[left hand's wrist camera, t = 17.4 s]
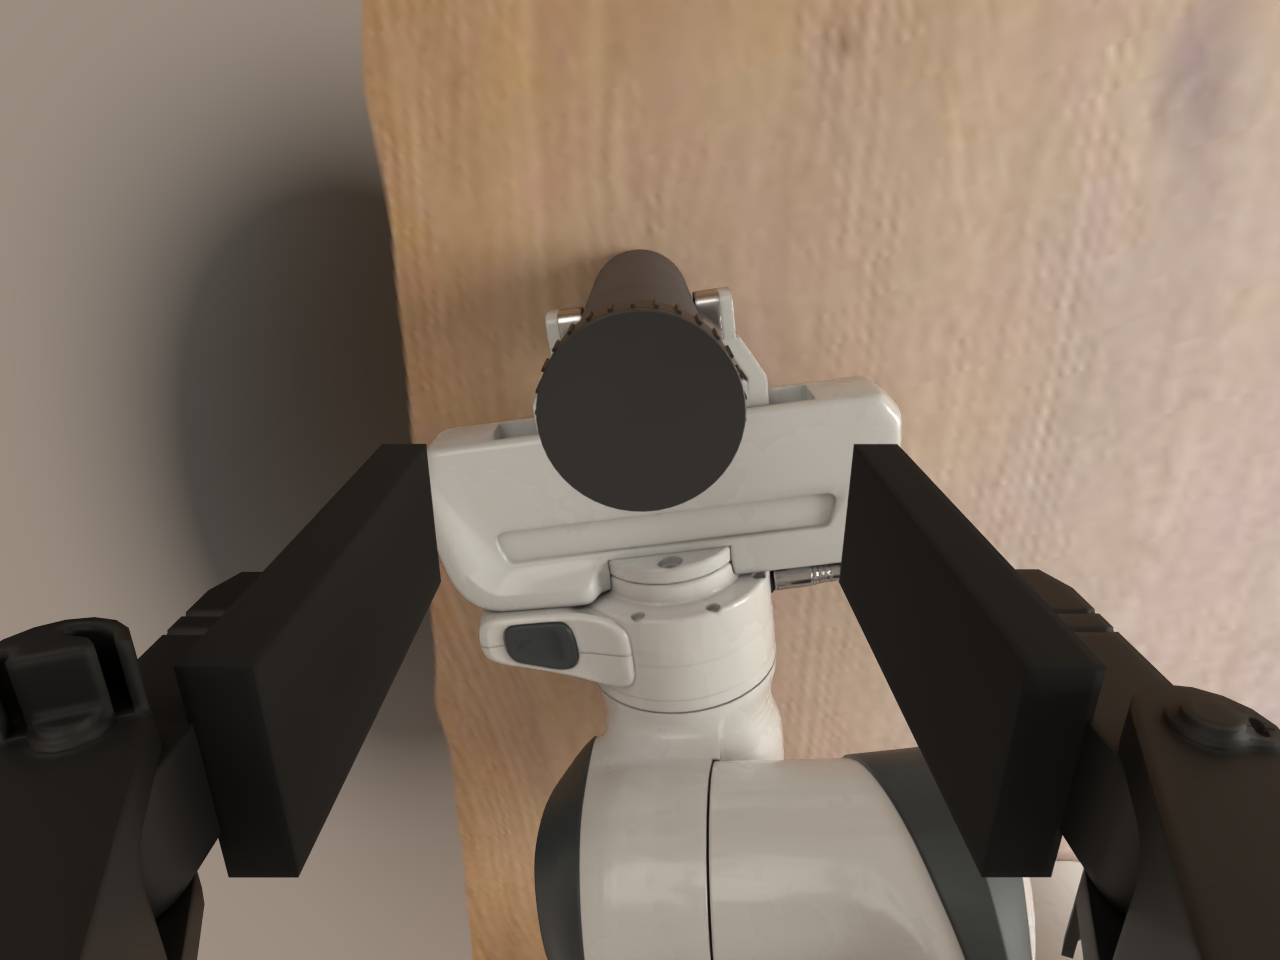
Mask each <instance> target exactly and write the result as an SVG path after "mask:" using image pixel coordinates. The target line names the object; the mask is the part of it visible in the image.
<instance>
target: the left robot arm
mask: <svg viewBox="0 0 1280 960" xmlns="http://www.w3.org/2000/svg"><path fill="white" fill-rule="evenodd" d="M440 583H441V578H440V568H439V559H438V550H437V540H436V531H435V522H434V512H433V503H432V494H431V484H430V475H429V466H428V456H427V447H426V444H382V445H381V446H380V447H379V449H378V450H377V451H376V452H375V453H374V454H373V455H372V456H371V457H370V458H369V459H368V460H367V461H366V462H365V463H364V465H363V466H362V467H361V468H360V469H359V470H358V471H357V472H356V473H355V474H354V475H353V476H352V477H351V478H350V479H349V481H348V482H347V483H346V484H345V485H344V486H343V487H342V488H341V489H340V490H339V491H338V492H337V493H336V494H335V495H334V497H333V498H332V499H331V500H330V501H329V502H328V503H327V504H326V505H325V506H324V507H323V508H322V509H321V511H319V513H318V514H317V515H316V516H315V517H314V518H313V519H312V520H311V521H310V522H309V523H308V524H307V525H306V526H305V527H304V529H303V530H302V531H301V532H300V533H299V534H298V535H297V536H296V537H295V538H294V539H293V540H292V541H291V542H290V543H289V545H288V546H287V547H286V548H285V549H284V550H283V551H282V552H281V553H280V554H279V555H278V556H277V557H276V558H275V559H274V561H273V562H272V563H271V564H270V565H269V566H268V567H267V568H266V569H265V570H264V571H263V572H241V573H239V574H238V575H236V576H234V577H232V578H230V579H228V580H227V581H225V582H223V583H221V584H219V585H217V586H216V587H214V588H212V589H210V590H208V591H207V592H206V593H205V594H204V595H203V596H202V597H201V598H200V599H199V600H198V601H197V602H196V603H195V604H194V605H193V606H192V607H191V608H190V609H189V610H188V611H187V612H186V617H181V618H180V619H179V620H178V621H176V622H175V623H174V624H173V625H172V626H171V627H170V628H169V629H168V633H167V635H162V636H161V637H160V638H159V639H158V640H157V641H156V642H155V643H154V644H153V645H152V646H151V647H150V648H149V649H148V650H147V651H146V652H145V653H144V654H143V655H142V656H141V657H140V658H139V659H137V656H136V652H135V649H134V645H133V641H132V638H131V635H130V631H129V628H128V627H126V626H125V625H123V624H122V623H120V622H118V621H117V620H112V619H104V618H97V617H92V618H80V619H69V620H63V621H59V622H55V623H51V624H47V625H42V626H38V627H34V628H32V629H29V630H27V631H24V632H21V633H19V634H16V635H14V636H11V637H9V638H6V639H3V640H2V641H0V960H197V955H198V948H199V940H200V933H201V925H202V918H203V911H204V899H203V892H202V886H201V883H200V879H199V876H198V872H197V870H198V869H199V867H200V866H201V864H202V863H203V861H204V859H205V858H206V856H207V855H208V853H209V851H210V850H211V848H212V847H213V845H214V844H215V842H216V840H217V839H218V838H219V842H220V846H221V850H222V853H223V857H224V861H225V865H226V869H227V872H228V876H229V877H299V875H300V873H301V871H302V869H303V866H304V864H305V862H306V860H307V858H308V856H309V854H310V852H311V850H312V848H313V846H314V844H315V842H316V839H317V838H318V835H319V833H320V831H321V829H322V827H323V825H324V823H325V821H326V819H327V817H328V815H329V813H330V811H331V809H332V806H333V804H334V802H335V800H336V798H337V796H338V794H339V792H340V790H341V788H342V786H343V784H344V782H345V779H346V777H347V775H348V773H349V771H350V769H351V767H352V765H353V763H354V761H355V759H356V757H357V755H358V753H359V751H360V748H361V746H362V744H363V742H364V740H365V738H366V736H367V734H368V732H369V730H370V728H371V726H372V724H373V722H374V719H375V717H376V715H377V713H378V711H379V709H380V707H381V705H382V703H383V701H384V699H385V697H386V695H387V693H388V690H389V688H390V686H391V684H392V682H393V680H394V678H395V676H396V674H397V672H398V670H399V668H400V666H401V664H402V661H403V659H404V657H405V655H406V653H407V651H408V649H409V647H410V645H411V643H412V641H413V639H414V637H415V634H416V632H417V630H418V628H419V626H420V624H421V622H422V620H423V618H424V616H425V614H426V612H427V610H428V608H429V606H430V603H431V601H432V599H433V597H434V595H435V593H436V591H437V589H438V587H439V585H440ZM839 583H840V585H841V587H842V589H843V591H844V593H845V595H846V597H847V599H848V601H849V603H850V606H851V608H852V610H853V612H854V614H855V616H856V618H857V620H858V622H859V624H860V626H861V628H862V630H863V632H864V635H865V637H866V639H867V641H868V643H869V645H870V647H871V649H872V651H873V653H874V655H875V657H876V659H877V661H878V664H879V666H880V668H881V670H882V672H883V674H884V676H885V678H886V680H887V682H888V684H889V686H890V688H891V690H892V693H893V695H894V697H895V699H896V701H897V703H898V705H899V707H900V709H901V711H902V713H903V715H904V717H905V719H906V722H907V724H908V726H909V728H910V730H911V732H912V734H913V736H914V738H915V740H916V742H917V744H918V746H919V748H920V751H921V753H922V755H923V757H924V759H925V761H926V763H927V765H928V767H929V769H930V771H931V773H932V775H933V777H934V780H935V782H936V784H937V786H938V788H939V790H940V792H941V794H942V796H943V798H944V800H945V802H946V804H947V806H948V809H949V811H950V813H951V815H952V817H953V819H954V821H955V823H956V825H957V827H958V829H959V831H960V833H961V835H962V838H963V840H964V842H965V844H966V846H967V848H968V850H969V852H970V854H971V856H972V858H973V860H974V862H975V864H976V867H977V869H978V871H979V873H980V875H981V877H1051V876H1052V872H1053V869H1054V865H1055V861H1056V857H1057V853H1058V850H1059V846H1060V842H1061V838H1062V835H1063V836H1064V838H1065V839H1066V841H1067V842H1068V844H1069V846H1070V847H1071V849H1072V850H1073V852H1074V854H1075V855H1076V857H1077V858H1078V860H1079V861H1080V863H1081V865H1082V866H1083V868H1084V869H1083V872H1082V876H1081V879H1080V883H1079V886H1078V890H1077V894H1076V897H1075V901H1074V904H1073V908H1072V911H1071V915H1070V918H1069V922H1068V925H1067V929H1066V933H1065V936H1064V941H1063V947H1062V953H1061V955H1062V956H1065V957H1068V958H1072V959H1073V957H1074V953H1075V950H1076V946H1077V943H1078V941H1079V940H1081V946H1082V953H1083V960H1280V729H1279V728H1278V727H1277V726H1276V725H1274V724H1273V723H1272V722H1270V721H1269V720H1267V719H1266V718H1264V717H1263V716H1261V715H1260V714H1258V713H1257V712H1255V711H1254V710H1253V709H1251V708H1248V707H1246V706H1244V705H1242V704H1240V703H1237V702H1235V701H1233V700H1231V699H1229V698H1226V697H1224V696H1221V695H1218V694H1214V693H1211V692H1207V691H1204V690H1200V689H1197V688H1193V687H1184V686H1174V685H1172V684H1171V683H1170V682H1169V681H1168V680H1167V679H1166V678H1165V677H1164V676H1163V675H1162V674H1161V673H1160V672H1159V671H1158V670H1157V669H1156V668H1155V667H1154V666H1153V665H1152V664H1151V663H1150V662H1149V661H1148V660H1146V659H1145V658H1144V657H1143V656H1142V655H1141V654H1140V653H1139V652H1138V651H1137V650H1136V649H1135V648H1134V647H1133V646H1132V645H1131V644H1130V643H1129V642H1128V641H1127V640H1126V639H1125V638H1124V637H1123V636H1122V635H1121V634H1120V633H1119V632H1114V631H1113V627H1112V626H1111V625H1110V624H1109V623H1108V622H1107V621H1106V620H1105V619H1104V618H1103V617H1102V616H1101V615H1100V614H1095V609H1094V608H1093V607H1092V606H1091V605H1090V604H1089V603H1088V602H1087V601H1085V600H1084V599H1083V598H1082V597H1081V596H1080V595H1079V594H1078V593H1077V592H1076V591H1075V590H1074V589H1073V588H1072V587H1070V586H1068V585H1066V584H1064V583H1063V582H1061V581H1059V580H1057V579H1055V578H1053V577H1052V576H1050V575H1048V574H1046V573H1044V572H1042V571H1041V570H1039V569H1014V568H1013V567H1012V566H1011V565H1010V564H1009V563H1008V562H1007V561H1006V559H1005V558H1004V557H1003V556H1002V555H1001V554H1000V553H999V552H998V551H997V550H996V549H995V548H994V547H993V546H992V545H991V543H990V542H989V541H988V540H987V539H986V538H985V537H984V536H983V535H982V534H981V533H980V532H979V531H978V530H977V529H976V527H975V526H974V525H973V524H972V523H971V522H970V521H969V520H968V519H967V518H966V517H965V516H964V515H963V514H962V513H961V511H960V510H959V509H958V508H957V507H956V506H955V505H954V504H953V503H952V502H951V501H950V500H949V499H948V498H947V497H946V495H945V494H944V493H943V492H942V491H941V490H940V489H939V488H938V487H937V486H936V485H935V484H934V483H933V482H932V481H931V479H930V478H929V477H928V476H927V475H926V474H925V473H924V472H923V471H922V470H921V469H920V468H919V467H918V466H917V465H916V463H915V462H914V461H913V460H912V459H911V458H910V457H909V456H908V455H907V454H906V453H905V452H904V451H903V450H902V449H901V447H900V446H899V445H898V444H854V447H853V456H852V466H851V475H850V484H849V494H848V503H847V512H846V522H845V531H844V540H843V550H842V559H841V568H840V578H839Z"/></svg>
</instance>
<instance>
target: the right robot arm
mask: <svg viewBox="0 0 1280 960" xmlns="http://www.w3.org/2000/svg"><path fill="white" fill-rule="evenodd" d="M693 302H694V304H695V307H696V309H697V312H698V314H699V315H700V317H701V319H702V321H703V322H704V323H705V324H706V325H708V326H709V327H710V328H711V329H713V328H715V329H716V330H717V331H718V334H719V336H720V338H721V341H722V342H723V344H724V345H725V346H727V345H728V346H729V347H730V349H731V351H732V353H733V355H734V357H733V359H734V361H735V362H736V363H737V365H738V366H739V369H740V371H741V373H742V375H743V378H741V381H742V384H743V388H744V391H745V393H746V395H747V400H746V418H747V419H746V422H745V428H744V433H743V437H742V440H741V443H740V446H739V449H738V451H737V453H736V455H735V457H734V459H733V461H732V462H731V464H730V465H729V467H728V468H727V469H726V471H725V472H724V473H723V474H722V476H721V477H720V478H719V479H718V480H717V481H716V482H715V483H714V484H713V485H711V486H710V487H709V488H708V489H707V490H706V491H704V492H703V493H701V494H700V495H698V496H696V497H695V498H693V499H691V500H689V501H687V502H685V503H683V504H680V505H677V506H674V507H671V508H667V509H663V510H658V511H648V512H634V511H625V510H619V509H615V508H611V507H608V506H605V505H602V504H600V503H597V502H595V501H593V500H591V499H589V498H587V497H586V496H584V495H582V494H581V493H579V492H578V491H577V490H575V489H574V488H573V487H571V486H570V485H569V484H568V483H567V482H566V481H565V480H564V479H563V478H562V477H561V476H560V474H559V473H558V472H557V471H556V469H555V468H554V467H553V465H552V463H551V462H550V460H549V459H548V457H547V455H546V453H545V450H544V448H543V446H542V443H541V440H540V437H539V433H538V427H537V421H536V415H535V410H536V401H537V395H536V398H535V400H534V403H533V406H532V407H533V413H534V417H533V418H526V419H518V420H510V421H502V422H494V423H487V424H479V425H471V426H463V427H455V428H448V429H445V430H443V431H441V432H440V433H439V434H438V435H437V436H436V437H435V439H434V440H433V441H432V442H431V443H430V445H429V446H428V447H427V456H428V466H429V475H430V484H431V494H432V503H433V512H434V522H435V531H436V540H437V550H438V554H439V556H440V559H441V561H442V563H443V566H444V568H445V570H446V573H447V575H448V577H449V579H450V580H451V582H452V584H453V585H454V587H455V588H456V589H457V591H458V592H459V593H460V594H461V595H462V596H463V597H464V598H465V599H466V600H468V601H469V602H470V603H472V604H474V605H475V606H478V607H480V608H482V613H481V618H480V626H479V640H480V645H481V649H482V651H483V653H484V655H485V656H486V657H487V658H488V659H489V660H491V661H493V662H496V663H499V664H503V665H509V666H516V667H523V668H529V669H536V670H542V671H548V672H553V673H558V674H563V675H568V676H573V677H577V678H581V679H586V680H589V681H593V682H596V684H597V686H598V688H599V690H600V692H601V694H602V697H603V699H604V702H605V705H606V712H607V723H606V730H605V732H604V734H603V735H601V736H600V737H597V736H595V737H593V738H592V739H591V740H590V741H589V742H588V743H587V744H586V745H585V747H584V748H583V749H582V750H581V751H580V753H579V754H578V755H577V757H576V758H575V760H574V761H573V763H572V764H571V765H570V767H569V768H568V769H567V771H566V772H565V774H564V775H563V777H562V778H561V779H560V781H559V782H558V784H557V785H556V787H555V788H554V790H553V792H552V794H551V795H550V797H549V800H548V802H547V804H546V807H545V810H544V812H543V816H542V819H541V823H540V827H539V832H538V837H537V843H536V850H535V867H534V871H535V893H536V903H537V911H538V919H539V925H540V931H541V936H542V941H543V945H544V949H545V953H546V956H547V959H548V960H1083V953H1082V946H1081V940H1079V941H1078V943H1077V946H1076V950H1075V953H1074V957H1073V959H1072V958H1068V957H1065V956H1062V955H1061V953H1062V947H1063V941H1064V936H1065V933H1066V929H1067V925H1068V922H1069V918H1070V915H1071V911H1072V908H1073V904H1074V901H1075V897H1076V894H1077V890H1078V886H1079V883H1080V879H1081V876H1082V872H1083V869H1084V868H1083V866H1082V865H1081V863H1080V862H1079V861H1055V865H1054V869H1053V872H1052V876H1051V877H981V875H980V873H979V871H978V869H977V867H976V864H975V862H974V860H973V858H972V856H971V854H970V852H969V850H968V848H967V846H966V844H965V842H964V840H963V838H962V835H961V833H960V831H959V829H958V827H957V825H956V823H955V821H954V819H953V817H952V815H951V813H950V811H949V809H948V806H947V804H946V802H945V800H944V798H943V796H942V794H941V792H940V790H939V788H938V786H937V784H936V782H935V780H934V777H933V775H932V773H931V771H930V769H929V767H928V765H927V763H926V761H925V759H924V757H923V755H922V753H921V751H920V748H919V747H914V748H905V749H896V750H887V751H877V752H868V753H858V754H849V755H844V756H843V757H842V758H832V759H784V748H783V733H782V723H781V717H780V714H779V710H778V708H777V705H776V703H775V701H774V699H773V697H772V694H771V682H772V678H773V675H774V671H775V666H776V644H775V631H774V619H773V607H772V596H771V593H773V591H774V590H782V589H790V588H799V587H806V586H812V585H816V584H818V583H819V584H820V583H824V582H830V581H839V578H840V568H841V559H842V550H843V540H844V531H845V522H846V512H847V503H848V494H849V484H850V475H851V466H852V456H853V447H854V444H898V445H899V446H900V447H901V428H902V421H901V413H900V410H899V408H898V406H897V405H896V403H895V402H894V401H893V400H892V398H891V397H890V396H889V395H888V394H887V393H886V392H885V391H884V390H883V389H881V388H880V387H879V386H877V385H876V384H875V383H873V382H872V381H871V380H869V379H868V378H866V377H862V376H855V377H847V378H839V379H831V380H823V381H815V382H808V383H800V384H792V385H784V386H776V387H768V383H767V376H766V374H765V372H764V371H763V369H762V367H761V366H760V364H759V363H758V361H757V360H756V359H755V357H754V356H753V354H752V353H751V352H750V350H749V349H748V347H747V346H746V345H745V343H744V342H743V340H742V339H741V338H740V336H739V335H738V333H737V332H736V331H735V321H734V310H733V300H732V294H731V290H730V289H729V288H728V287H722V288H714V289H708V290H701V291H695V292H693ZM583 311H584V308H583V307H575V308H566V309H557V310H551V311H548V312H547V313H546V315H545V323H546V331H547V337H548V343H549V348H550V354H551V356H552V354H553V352H552V349H553V347H554V344H555V342H556V341H557V339H558V340H560V341H561V340H562V338H563V337H564V336H565V334H566V333H567V331H568V329H569V326H570V325H571V324H572V323H574V324H577V323H578V322H579V321H580V319H581V317H582V314H583Z"/></svg>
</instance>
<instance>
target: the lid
mask: <svg viewBox="0 0 1280 960" xmlns="http://www.w3.org/2000/svg"><path fill="white" fill-rule="evenodd" d="M552 352H553V354H552V356H551V358H550V359H548V358H547V359H546V361H545V363H544V365H543V367H542V370H541V371H542V372H544V373H543V376H542V378H541V380H540V382H539V384H538V386H537V388H536V393H537V401H536V410H535V415H536V421H537V427H538V433H539V437H540V440H541V443H542V446H543V448H544V450H545V453H546V455H547V457H548V459H549V460H550V462H551V463H552V465H553V467H554V468H555V469H556V471H557V472H558V473H559V474H560V476H561V477H562V478H563V479H564V480H565V481H566V482H567V483H568V484H569V485H570V486H571V487H573V488H574V489H575V490H577V491H578V492H579V493H581V494H582V495H584V496H586V497H587V498H589V499H591V500H593V501H595V502H597V503H600V504H602V505H605V506H608V507H611V508H615V509H619V510H625V511H634V512H648V511H658V510H663V509H667V508H671V507H674V506H677V505H680V504H683V503H685V502H687V501H689V500H691V499H693V498H695V497H696V496H698V495H700V494H701V493H703V492H704V491H706V490H707V489H708V488H709V487H710V486H711V485H713V484H714V483H715V482H716V481H717V480H718V479H719V478H720V477H721V476H722V474H723V473H724V472H725V471H726V469H727V468H728V467H729V465H730V464H731V462H732V461H733V459H734V457H735V455H736V453H737V451H738V449H739V446H740V443H741V440H742V437H743V433H744V428H745V422H746V419H747V418H746V400H747V395H746V393H745V391H744V388H743V384H742V381H741V378H743V375H742V373H741V371H740V369H739V367H738V365H735V364H734V362H733V360H732V358H733V357H734V355H733V353H732V351H731V349H730V347H729V346H728V345H727V346H725V345H724V344H723V342H722V341H721V338H720V336H719V334H718V331H717V330H716V329H715V328H713V329H711V328H710V327H709V326H708V325H706V324H705V323H704V322H703V321H702V319H701V317H700V315H699V314H696V315H695V316H694V315H693V314H691V313H689V312H687V311H685V310H683V309H681V306H680V304H677V303H676V305H675V306H673V305H670V304H666V303H662V302H658V298H654V301H647V300H635V297H631V301H625V302H620V303H616V304H613V301H611V302H609V303H608V306H606V307H604V308H601V309H599V310H597V311H595V312H592V310H590V311H588V313H587V315H586V317H585V318H583V319H582V320H581V321H579V322H578V323H577V324H574V323H572V324H571V325H570V326H569V329H568V331H567V333H566V334H565V336H564V337H563V338H562V340H561V341H560V340H558V339H557V341H556V342H555V344H554V347H553V349H552Z"/></svg>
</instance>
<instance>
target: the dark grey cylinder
mask: <svg viewBox="0 0 1280 960" xmlns="http://www.w3.org/2000/svg"><path fill="white" fill-rule="evenodd" d="M631 297H635V300H647V301H654V298H658V302H662V303H666V304H670V305H673V306H675V305H676V303H677V304H680V306H681V309H683V310H685V311H687V312H689V313H691V314H693V315H694V316H695V315H696V314H698V312H697V309H696V307H695V304H694V302H693V299H692V297H691V295H690V292H689V290H688V287H687V285H686V282H685V280H684V278H683V276H682V274H681V272H680V271H679V269H678V268H677V267H676V266H675V265H674V263H672V262H671V261H670V260H669V259H668V258H666V257H664V256H663V255H661V254H659V253H656V252H653V251H649V250H631V251H627V252H624V253H622V254H619V255H618V256H616V257H614V258H613V259H611V260H610V261H609V262H608V263H607V264H606V265H605V266H604V267H603V268H602V270H601V271H600V273H599V274H598V276H597V279H596V281H595V283H594V286H593V289H592V291H591V294H590V296H589V299H588V301H587V304H586V306H585V309H584V311H583V314H582V317H581V319H580V321H581V320H582V319H583V318H585V317H586V315H587V313H588V311H590V310H592V312H595V311H597V310H599V309H601V308H604V307H606V306H608V303H609V302H611V301H613V304H616V303H620V302H625V301H631Z"/></svg>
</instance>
